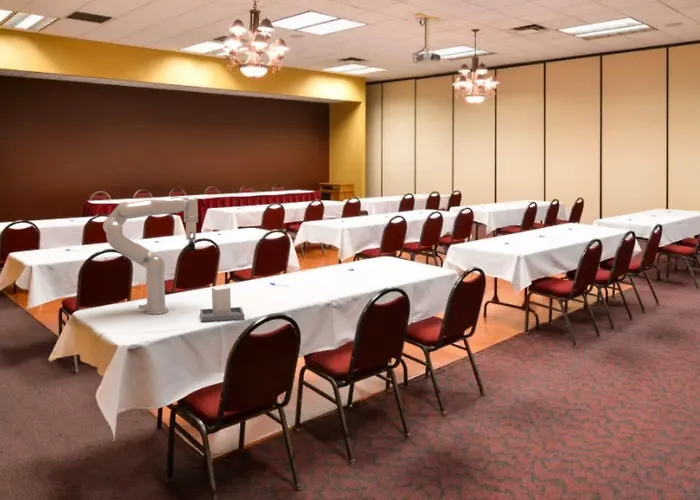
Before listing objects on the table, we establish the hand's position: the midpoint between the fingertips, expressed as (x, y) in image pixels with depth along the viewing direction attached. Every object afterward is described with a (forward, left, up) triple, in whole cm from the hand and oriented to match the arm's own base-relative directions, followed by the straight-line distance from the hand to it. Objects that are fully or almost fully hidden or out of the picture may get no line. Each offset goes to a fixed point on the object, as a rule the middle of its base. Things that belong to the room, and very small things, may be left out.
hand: (191, 249), depth 345 cm
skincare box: (+14, -25, -33) cm, 44 cm away
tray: (+14, -25, -33) cm, 44 cm away
